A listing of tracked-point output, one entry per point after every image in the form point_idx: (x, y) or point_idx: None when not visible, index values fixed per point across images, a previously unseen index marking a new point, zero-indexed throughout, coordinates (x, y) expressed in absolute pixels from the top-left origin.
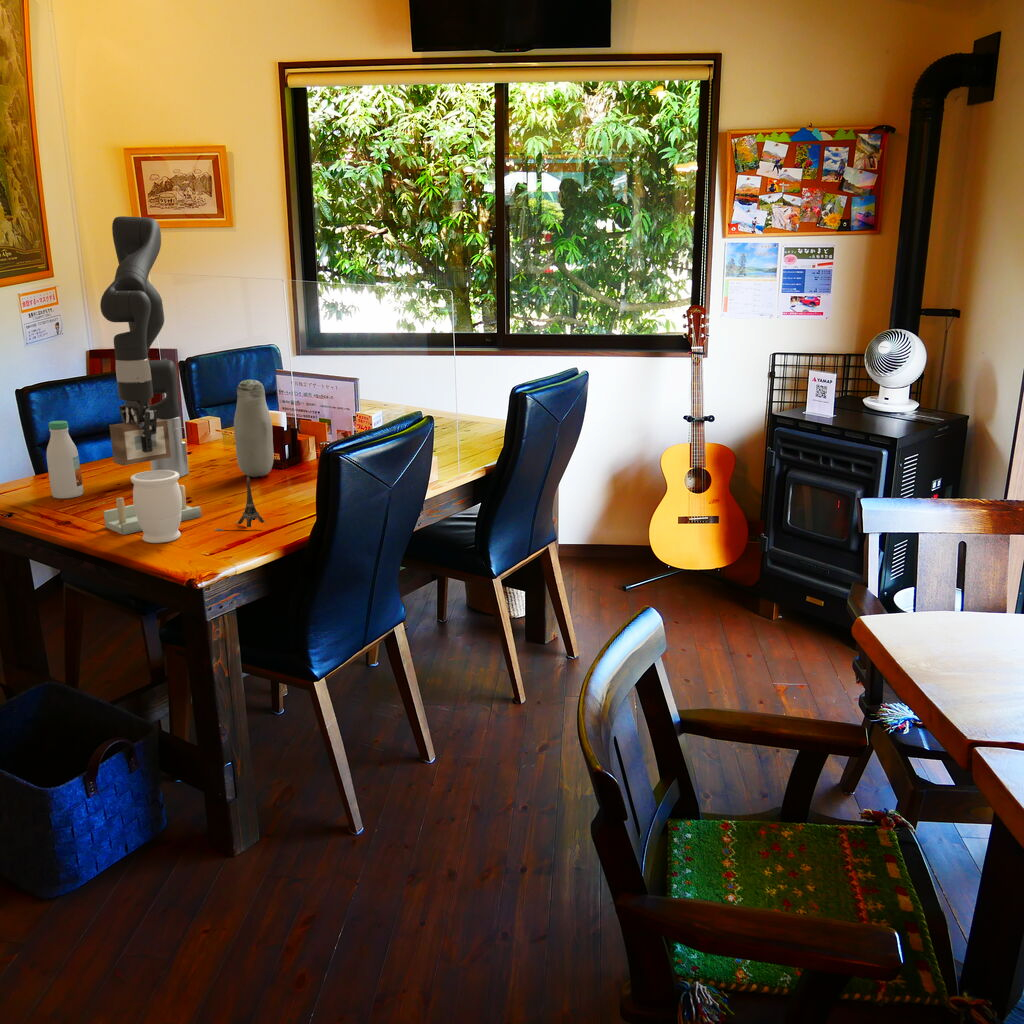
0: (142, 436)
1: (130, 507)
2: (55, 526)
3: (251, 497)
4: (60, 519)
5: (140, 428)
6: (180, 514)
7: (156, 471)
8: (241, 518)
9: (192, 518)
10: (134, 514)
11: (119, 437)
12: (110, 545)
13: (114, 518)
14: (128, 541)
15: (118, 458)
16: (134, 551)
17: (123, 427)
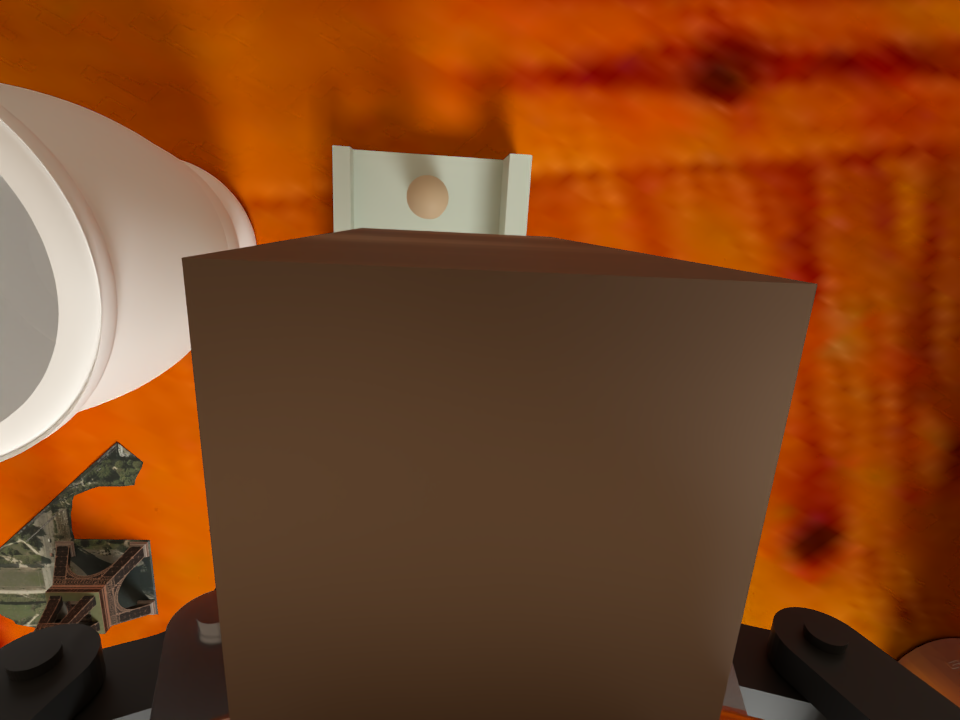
0: (215, 595)
1: None
2: (714, 9)
3: None
4: (792, 88)
5: (194, 717)
6: (34, 329)
7: (86, 382)
8: (114, 569)
9: None
10: None
11: (294, 243)
12: (231, 19)
13: (501, 201)
14: (232, 114)
15: (441, 233)
16: (57, 45)
17: (202, 414)
